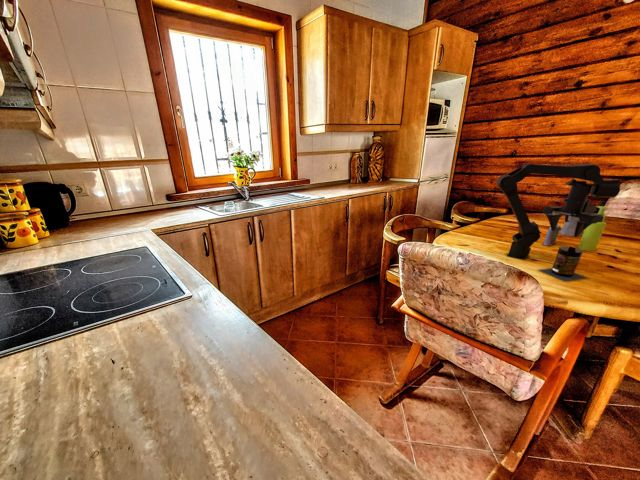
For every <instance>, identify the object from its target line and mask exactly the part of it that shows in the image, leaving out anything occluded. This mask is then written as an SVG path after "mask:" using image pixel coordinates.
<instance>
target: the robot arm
mask: <svg viewBox="0 0 640 480" xmlns="http://www.w3.org/2000/svg"><path fill="white" fill-rule="evenodd" d="M530 175H546V176H547V175H549V176H564V177H569V178H572V179H570V180H568V181H567V182H565V184H564V185H567V186H570V189H569V191H568V195H567V198H564V199H563V202H565V203H564V206H560V205H559V206H558V205H549V206H545V208H543V211H542V214H544V216H546V218H547V220H548V222H549V226H550V227H551V230H552V231H555V229H556V227H557V225H559V224H558V223H559V220H560V219H561V217H563V216H565V215H568V216H572V217H577V218H579V220H580V221H578V222H577V225H576V230H575V235H574V237H573V238H579V237H580V236H579V235H580V234H581V233H582V232H583V233H584V230H585V229H586V228H587V227H588V226H589V225H591V224H596V223H597V222H602V221H603V218H604V217H603V215H601V214H597V213H595V210H597V208H598V207H596V206H597V205H594V204H591V203H590V199H588V198H589V196H590V195H591V196H592V198H608V199H610V198H611V199H613V198H616V197H617V196H618V195H619V193H620V192H621V184H620V183H621V179H618V178H617V179H616V178H614V179H613V178H611V179H604V178H603V176H602V175H601V167H600V166H599V165H597V164H592V163H577V164H575V163H574V164H569V165H567V164H566V165H562V164H561V165H560V164H543V163H531V162H527V163H524V164H523V165H522V166H520V167H518V168H516V169H514V170H512V171H510V172H509V173H507V174H502V175H500V176H499V177H498V178H497V180H496V185H497V187H498V188H499V190H500V191H501V192H502V193H503V195H504V196H505V197H506V199H507V201H508V204H509V206H510V208H511V211H512V213H513V215H514V217H515V219H516V221H517V224H518V227H517V228H518V232H517V233H515V234H513V235H512V236H511V238H512V242H511V243H510V248H509V251H508V254H506V256H507V257H511V258H515V259H520V260H525V259H527V258H528V257H529V256H530V253H531V250H532V245H533V244H534V243H535V242H537V241H539V239H540V238H541V234H542V231H541V230H540V228H539V225H538V224H537V223H536V221H530V218H529V216H528V214H527V211H526V209H525V207H524V204H523V203H522V200H521V198H520V196H519V193H518V192H519V191H518V183H520V182H521V181H523V180H524V179H525V178H527V177H529V176H530ZM576 179H577V180H576ZM588 182H589V183H588ZM590 182H591V183H590ZM582 213H586V214H582ZM574 214H576V215H574ZM604 219H605V218H604ZM603 222H604V221H603ZM578 236H579V237H578Z"/></svg>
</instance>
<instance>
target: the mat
mask: <svg viewBox="0 0 640 480" xmlns="http://www.w3.org/2000/svg"><path fill="white" fill-rule="evenodd" d="M551 269H552V267H551V268H545V269H539V270H538V271H540V272H542V273H544V274H547V275H549V276H551V277H554V278H556V279H559V280H561V281H563V282H569V281H574V280H575V281H576V280H583V279H587V277H586V276H584V275H581V274H578V273H576V272H575V273H574V275H573V276H570V277H564V276H559V275H556V274H554V273H552V271H551Z"/></svg>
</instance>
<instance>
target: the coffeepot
mask: <svg viewBox="0 0 640 480" xmlns="http://www.w3.org/2000/svg"><path fill="white" fill-rule="evenodd" d="M582 214H586V213H582ZM574 215H576V214H574ZM578 221H580V220H579V218H577V217H572V216H568V215H564V223H563V226H561V228H560V230H559V233H558V234H560V235H563V236H567V237H573V238H575V237H574V235H575V230H576V225H577V222H578ZM583 233H584V231H583V232H582V233H581V234H580V235H579V236H578V237H577V238H579V237H582V235H583Z"/></svg>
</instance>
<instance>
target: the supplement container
mask: <svg viewBox="0 0 640 480" xmlns="http://www.w3.org/2000/svg"><path fill="white" fill-rule="evenodd" d="M583 253H584V250H581V249H579V248H578V247H574V246H568V245H567V246H566V245H564V246H562V245H561V246H559V247H558V250H557V252H556V255H555V259H554V261H553V263H552V266H551V268H552V269H551V268H550V269H551V271H552V273H554V274H556V275H559V276H564V277H570V276H573V275H574V273H576V270H577V269H578V265H579V263H580V260H581V258H582V256H583Z"/></svg>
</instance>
